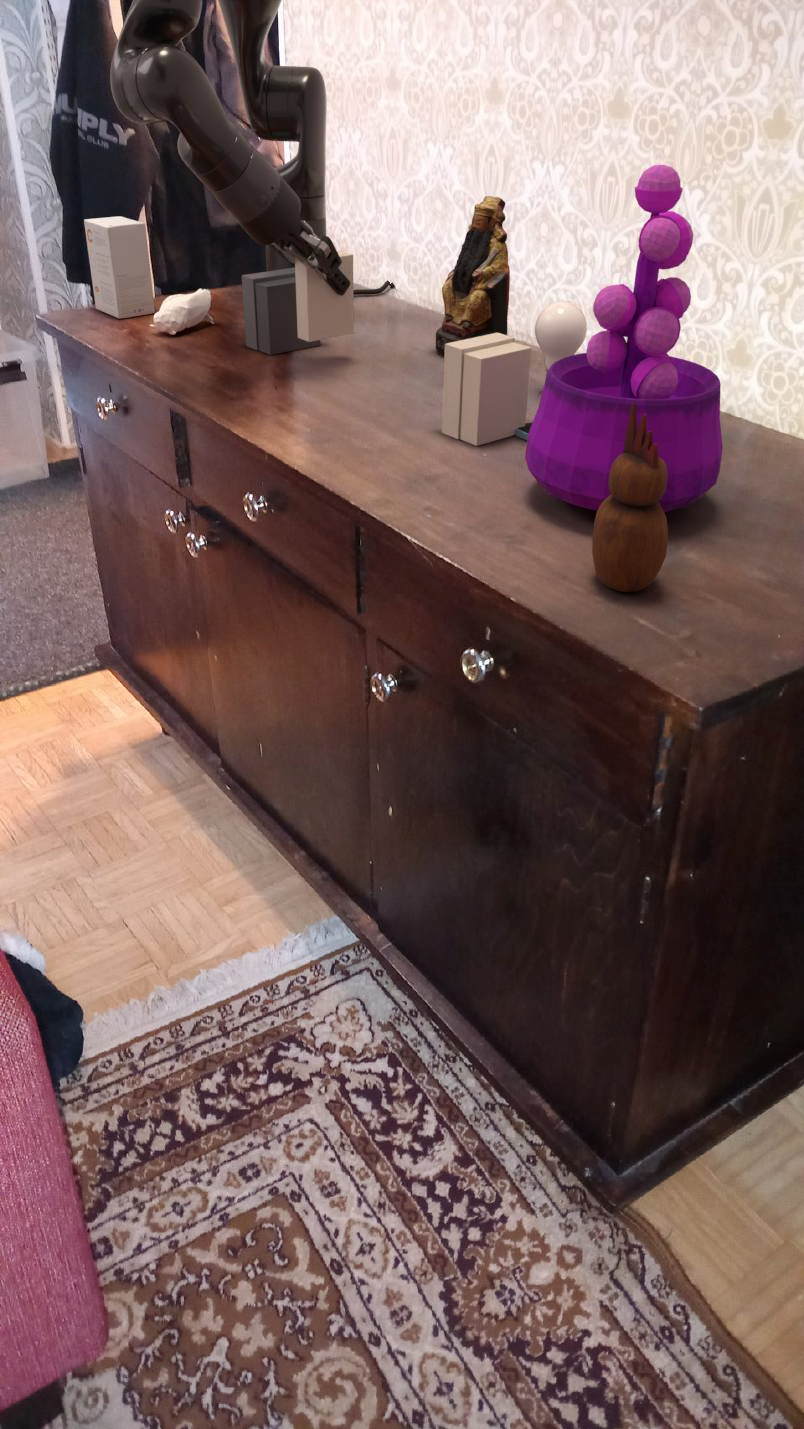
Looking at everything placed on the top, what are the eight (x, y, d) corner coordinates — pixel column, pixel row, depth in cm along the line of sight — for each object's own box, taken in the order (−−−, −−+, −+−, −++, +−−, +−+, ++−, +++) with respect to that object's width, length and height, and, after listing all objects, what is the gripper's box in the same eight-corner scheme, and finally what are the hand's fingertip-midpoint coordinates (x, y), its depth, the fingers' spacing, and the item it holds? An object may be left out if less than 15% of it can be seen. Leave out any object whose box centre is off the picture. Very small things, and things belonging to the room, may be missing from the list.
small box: (156, 313, 166) (146, 222, 159) (118, 319, 163) (106, 226, 155) (131, 303, 171) (120, 214, 164) (94, 309, 168) (82, 218, 160)
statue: (428, 350, 151) (432, 194, 140) (475, 343, 154) (483, 190, 143) (474, 372, 142) (482, 208, 131) (523, 365, 145) (535, 204, 134)
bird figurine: (184, 329, 163) (144, 326, 155) (194, 283, 161) (153, 278, 152) (211, 339, 162) (171, 338, 153) (221, 293, 159) (181, 289, 151)
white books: (441, 432, 122) (444, 343, 117) (492, 419, 127) (497, 332, 121) (475, 446, 119) (480, 355, 113) (526, 431, 123) (533, 343, 117)
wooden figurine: (580, 565, 94) (601, 396, 86) (645, 564, 95) (671, 395, 86) (599, 602, 88) (622, 424, 80) (667, 600, 89) (697, 423, 81)
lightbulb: (586, 388, 137) (596, 299, 131) (571, 402, 132) (580, 310, 126) (539, 382, 139) (546, 293, 133) (522, 395, 134) (529, 304, 128)
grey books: (245, 346, 151) (241, 275, 146) (298, 336, 156) (295, 267, 151) (269, 355, 148) (265, 282, 142) (321, 344, 152) (320, 274, 147)
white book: (297, 337, 142) (294, 257, 137) (342, 329, 146) (341, 251, 141) (308, 342, 141) (306, 261, 135) (354, 333, 145) (353, 254, 139)
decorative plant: (547, 456, 117) (576, 146, 100) (720, 479, 112) (782, 158, 95) (502, 521, 102) (527, 171, 85) (699, 552, 97) (768, 186, 80)
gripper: (305, 174, 123) (386, 273, 137) (239, 160, 132) (322, 254, 146) (269, 229, 124) (354, 322, 137) (206, 211, 132) (292, 300, 146)
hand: (337, 286), depth 141 cm, fingers closed on white book, 2 cm apart
